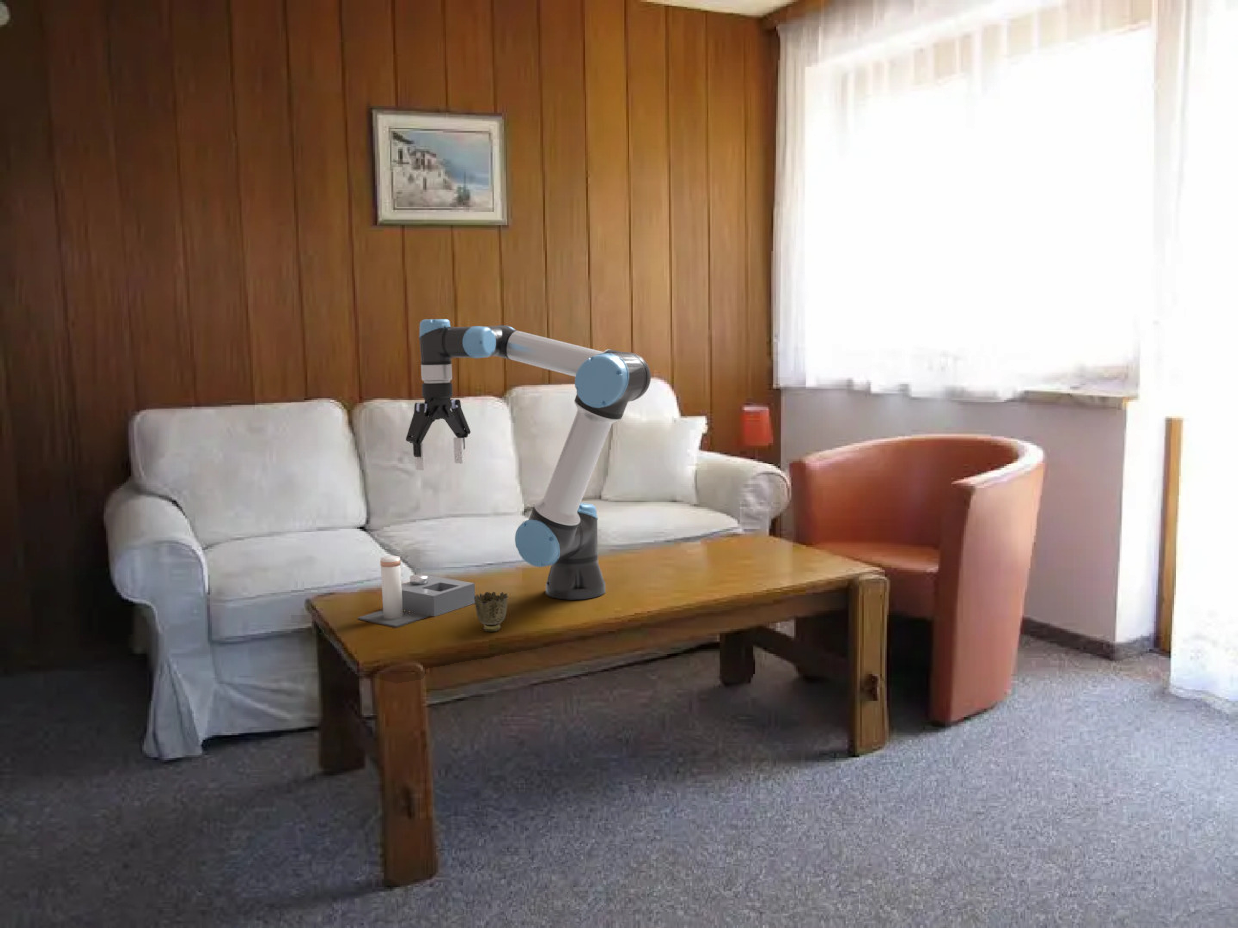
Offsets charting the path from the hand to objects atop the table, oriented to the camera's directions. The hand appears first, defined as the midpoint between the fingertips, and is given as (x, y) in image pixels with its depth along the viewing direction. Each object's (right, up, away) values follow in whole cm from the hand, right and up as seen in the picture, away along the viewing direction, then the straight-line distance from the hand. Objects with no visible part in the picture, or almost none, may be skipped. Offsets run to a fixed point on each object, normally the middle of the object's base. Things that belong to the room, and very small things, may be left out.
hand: (440, 466), depth 265 cm
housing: (-1, -34, -7) cm, 35 cm away
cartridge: (-8, -35, -17) cm, 40 cm away
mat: (-8, -36, -17) cm, 40 cm away
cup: (+16, -37, -28) cm, 49 cm away
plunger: (-4, -33, -4) cm, 34 cm away
